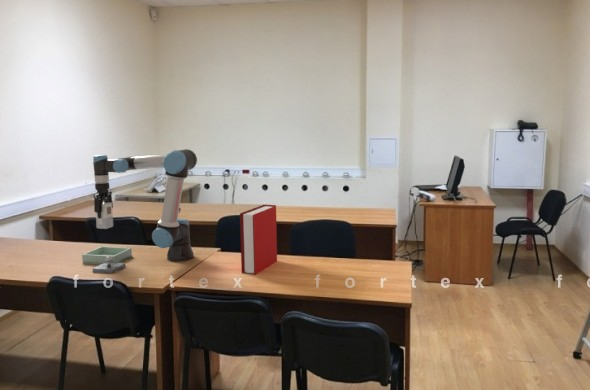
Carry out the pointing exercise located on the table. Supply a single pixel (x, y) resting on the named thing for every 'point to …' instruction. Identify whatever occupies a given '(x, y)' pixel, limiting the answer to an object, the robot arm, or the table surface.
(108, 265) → the stud block
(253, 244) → the book
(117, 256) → the bin
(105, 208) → the white grey block
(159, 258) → the table surface
